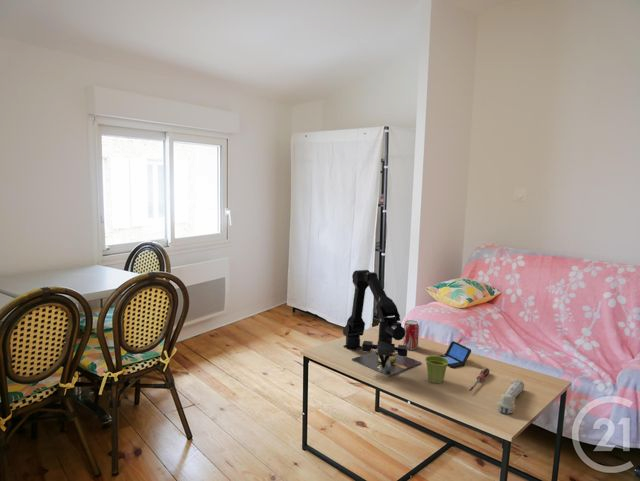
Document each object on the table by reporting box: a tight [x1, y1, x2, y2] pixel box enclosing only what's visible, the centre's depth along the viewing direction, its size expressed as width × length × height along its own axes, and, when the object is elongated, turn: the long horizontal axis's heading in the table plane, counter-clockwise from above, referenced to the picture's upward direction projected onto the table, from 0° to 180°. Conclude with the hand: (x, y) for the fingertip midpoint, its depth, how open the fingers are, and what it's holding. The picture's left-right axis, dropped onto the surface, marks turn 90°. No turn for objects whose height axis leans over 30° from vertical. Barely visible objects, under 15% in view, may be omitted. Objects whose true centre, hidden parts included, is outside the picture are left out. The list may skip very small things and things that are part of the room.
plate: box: [351, 350, 423, 377], centre depth 198 cm, size 22×22×1 cm
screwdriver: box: [469, 367, 490, 392], centre depth 178 cm, size 25×3×3 cm, turn 145°
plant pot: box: [424, 355, 449, 384], centre depth 179 cm, size 9×9×9 cm
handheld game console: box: [439, 340, 472, 369], centre depth 200 cm, size 12×11×7 cm
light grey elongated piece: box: [497, 379, 525, 415], centre depth 164 cm, size 5×7×25 cm
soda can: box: [402, 319, 420, 351], centre depth 215 cm, size 7×7×13 cm
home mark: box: [393, 363, 407, 369], centre depth 192 cm, size 6×2×1 cm, turn 42°
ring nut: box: [378, 352, 397, 372], centre depth 193 cm, size 17×8×4 cm, turn 175°
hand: (383, 367), depth 187 cm, fingers closed
